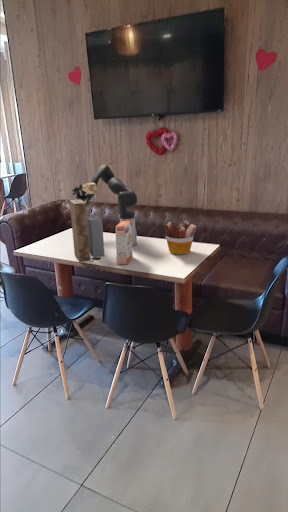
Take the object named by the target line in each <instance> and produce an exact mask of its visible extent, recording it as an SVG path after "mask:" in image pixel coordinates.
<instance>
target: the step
mask: <svg viewBox="0 0 288 512" xmlns="http://www.w3.org/2000/svg"><path fill="white" fill-rule="evenodd" d="M87 226H88V238H89V251H90V256H91V257H92V258H93V259H94V258H101V257H102V258H103V257H105V244H104V241H105V240H104V229H103V228H104V227H103V219H102V218H101V217H100V216H98V215H89V216H88V215H87Z"/></svg>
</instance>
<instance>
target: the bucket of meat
mask: <svg viewBox="0 0 288 512" xmlns="http://www.w3.org/2000/svg"><path fill="white" fill-rule="evenodd" d="M183 222H184V223H179V225H176V224H175V223H176V222H175V221H169V222H168V223H167V224H166V223H165V224H164V225H163V226H164V231H165V234H166V235H165V239H166V243H167V248H168V251H169V252H170V254H172V253H173V254H172V255H175V254H185V255H187V254H186V253H188V252H189V253H191V248H192V245H193V240H194V236H195V233H196V230H197V225H195V224H193V223H191V224H190V223H189V221H188V220H184V221H183ZM189 253H188V254H189Z"/></svg>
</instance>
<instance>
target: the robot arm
mask: <svg viewBox="0 0 288 512" xmlns="http://www.w3.org/2000/svg"><path fill="white" fill-rule="evenodd" d="M100 179H101V180H102V182H103V183H105V184H106V185H107V186H108V187H107V188H109V190H110V192H112V193H113V194H114V195H117V204H118V214H119V223H120V222H122V221H132V247H133V246H136V245H137V244H138V241H137V239H138V237H137V229H136V222H135V221H136V218H135V217H136V216H135V212H133V211H129V210H127V207H128V208H129V207H130V208H131V207H134V206H136V205H137V204H138V197H137V194H136V192H135V191H133V190H132V189H130V188H129V186H127V185H126V184H125V183H124V182H123V181H122V180H121V178H120V177H119V178H118V177H117V176H116V175H115V174H114V172H113V171H112V169H111V168H110V167H109V166H108V164H101V166H99V167H98V168H97V170H96V172H95V173H94V175H93V177H91V180H90V182H89V183H95V184H96V187H97V188H98V183H99V180H100ZM82 185H83V184H82V183H81V184H79V186H78V187H77V186H76V187H74V188H73V189H72V191H71V193H72V196H74V199H73V200H79V199H81V200H82V201H84V202H85V203H86V208H87V207H88V205H89V203H90V201H91V199H93V197H94V196H95V195H96V194H89V193H87V192H85V191H83V190H82Z"/></svg>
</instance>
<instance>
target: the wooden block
mask: <svg viewBox="0 0 288 512" xmlns="http://www.w3.org/2000/svg"><path fill="white" fill-rule="evenodd" d="M69 205H70V206H69V207H70V209H69V210H70V218H71V230H72V239H73V250H74V251H73V252H74V256H75V258H76V259H77V261H78V262H79V263H81V262H82V263H83V262H88V261H91V254H90V251H89V238H88V226H87V216H88V215H87V207H86V203H85V202H84V201H82V200H81V199H79V200H74V199H70V200H69Z"/></svg>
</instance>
